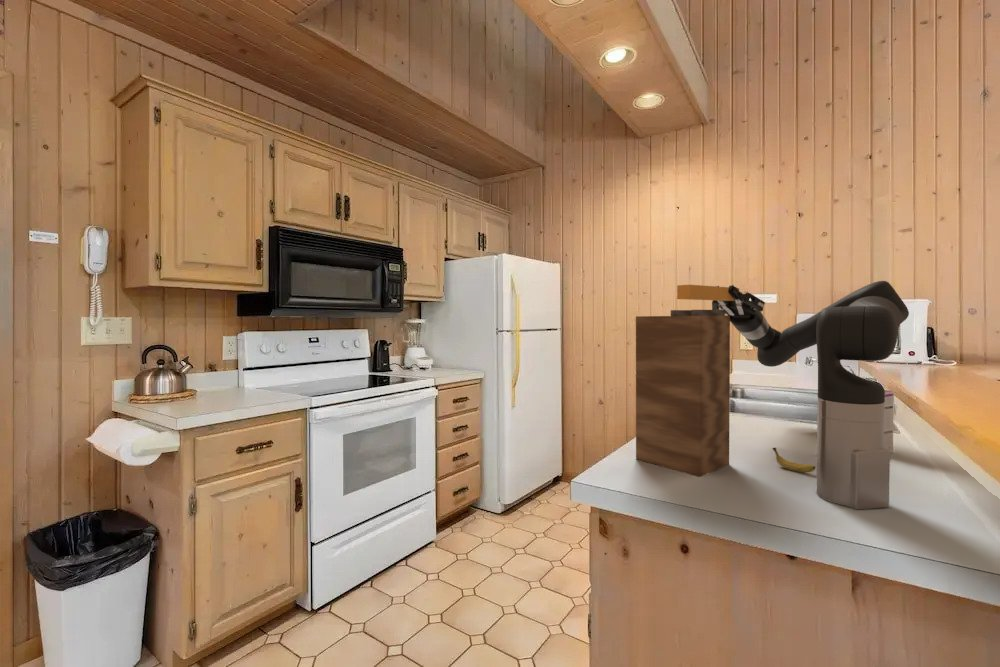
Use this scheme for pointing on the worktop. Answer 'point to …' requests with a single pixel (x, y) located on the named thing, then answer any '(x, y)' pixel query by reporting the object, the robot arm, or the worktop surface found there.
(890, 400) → the syrup box
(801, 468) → the banana
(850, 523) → the worktop surface
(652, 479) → the worktop surface
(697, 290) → the orange-brown bar
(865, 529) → the worktop surface
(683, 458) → the walnut stand
